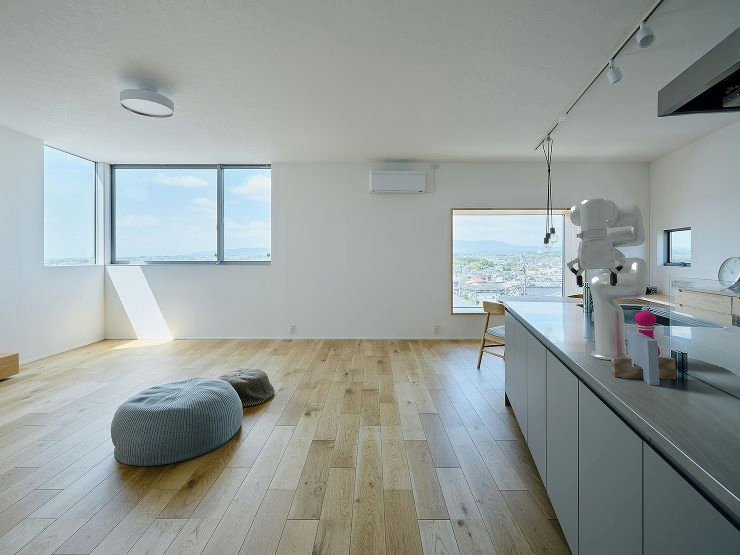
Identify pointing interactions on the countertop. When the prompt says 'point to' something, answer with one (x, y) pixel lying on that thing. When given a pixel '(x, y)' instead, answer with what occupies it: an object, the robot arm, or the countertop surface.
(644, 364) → the light blue flat board
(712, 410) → the countertop surface
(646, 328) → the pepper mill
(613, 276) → the robot arm
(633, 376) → the brown wooden u-shaped block
